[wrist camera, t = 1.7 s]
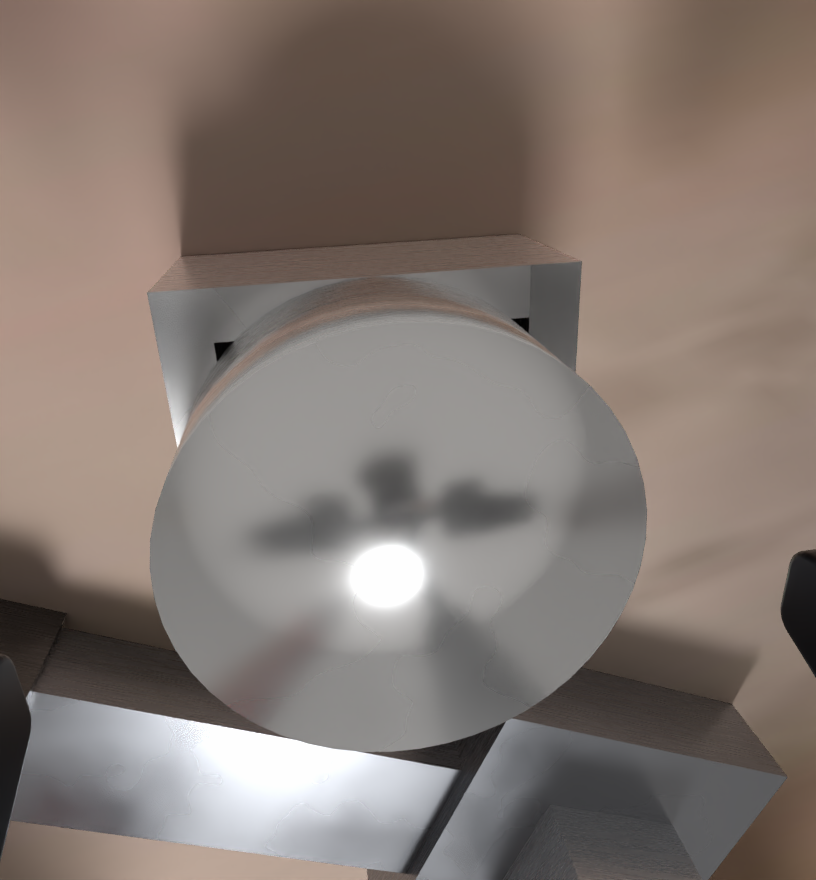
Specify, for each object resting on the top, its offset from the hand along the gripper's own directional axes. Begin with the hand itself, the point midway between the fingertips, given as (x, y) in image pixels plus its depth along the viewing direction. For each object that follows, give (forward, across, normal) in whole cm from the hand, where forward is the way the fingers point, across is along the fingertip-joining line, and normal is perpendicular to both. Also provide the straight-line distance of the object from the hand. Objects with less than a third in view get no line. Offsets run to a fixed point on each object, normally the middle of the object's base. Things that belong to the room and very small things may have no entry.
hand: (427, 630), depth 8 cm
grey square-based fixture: (+7, 0, 0) cm, 7 cm away
